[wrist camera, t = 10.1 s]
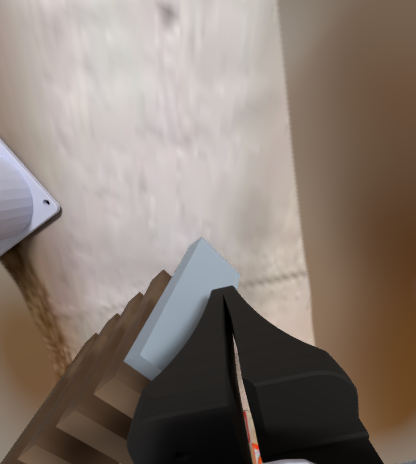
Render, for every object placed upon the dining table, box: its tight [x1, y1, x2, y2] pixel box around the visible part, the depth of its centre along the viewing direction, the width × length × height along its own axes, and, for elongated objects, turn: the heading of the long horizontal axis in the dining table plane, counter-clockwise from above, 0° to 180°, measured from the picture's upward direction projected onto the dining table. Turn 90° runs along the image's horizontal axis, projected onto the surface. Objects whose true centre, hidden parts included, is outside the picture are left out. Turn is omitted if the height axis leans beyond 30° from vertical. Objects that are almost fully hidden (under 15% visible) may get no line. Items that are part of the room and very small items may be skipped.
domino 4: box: [94, 270, 172, 419], centre depth 14 cm, size 2×5×10 cm, turn 44°
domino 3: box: [56, 292, 144, 464], centre depth 15 cm, size 2×5×10 cm, turn 44°
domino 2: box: [18, 313, 120, 464], centre depth 16 cm, size 2×5×10 cm, turn 44°
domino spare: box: [124, 237, 240, 381], centre depth 14 cm, size 2×5×10 cm, turn 44°
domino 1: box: [1, 333, 98, 464], centre depth 16 cm, size 2×5×10 cm, turn 44°
